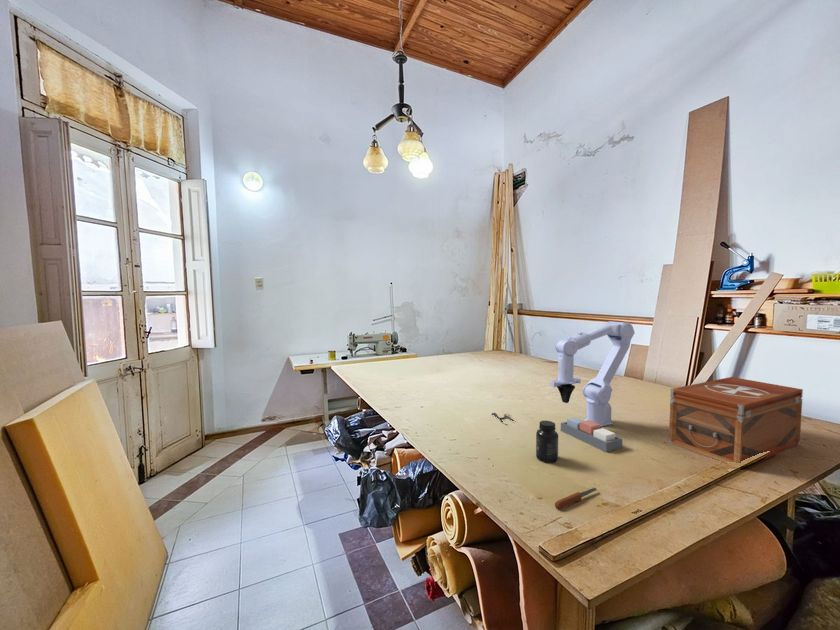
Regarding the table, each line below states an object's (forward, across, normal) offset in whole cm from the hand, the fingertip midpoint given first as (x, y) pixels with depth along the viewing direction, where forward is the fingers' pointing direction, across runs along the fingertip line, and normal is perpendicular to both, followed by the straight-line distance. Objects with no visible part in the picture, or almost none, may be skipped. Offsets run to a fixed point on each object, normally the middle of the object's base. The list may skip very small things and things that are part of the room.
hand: (565, 402), depth 137 cm
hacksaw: (+11, -16, +11) cm, 23 cm away
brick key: (+7, -2, -13) cm, 15 cm away
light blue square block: (+8, -2, -7) cm, 11 cm away
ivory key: (+8, -2, -19) cm, 21 cm away
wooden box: (+10, +41, -37) cm, 56 cm away
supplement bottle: (+10, -27, -18) cm, 34 cm away
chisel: (+10, -36, -38) cm, 54 cm away
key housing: (+10, -2, -13) cm, 16 cm away
